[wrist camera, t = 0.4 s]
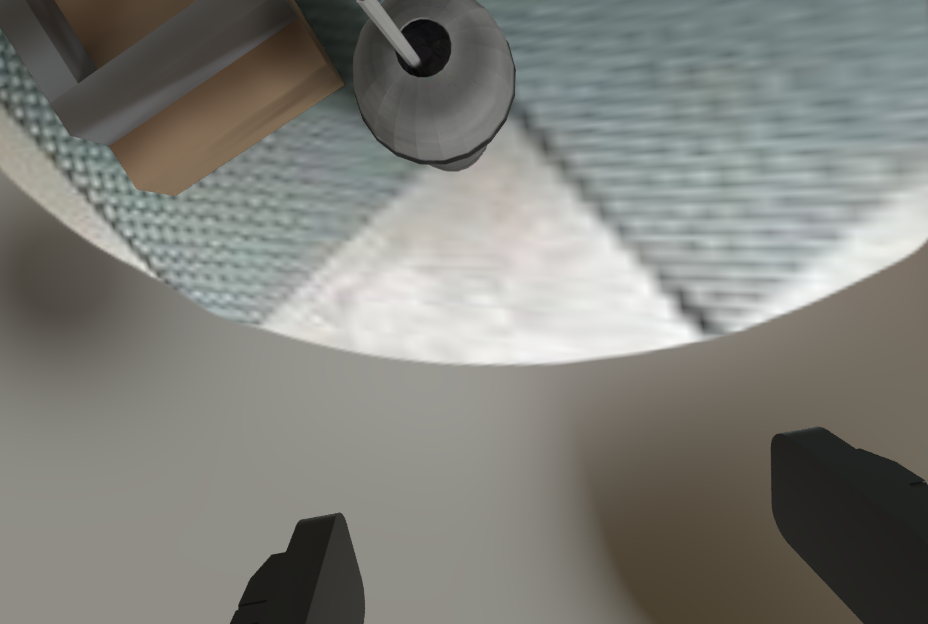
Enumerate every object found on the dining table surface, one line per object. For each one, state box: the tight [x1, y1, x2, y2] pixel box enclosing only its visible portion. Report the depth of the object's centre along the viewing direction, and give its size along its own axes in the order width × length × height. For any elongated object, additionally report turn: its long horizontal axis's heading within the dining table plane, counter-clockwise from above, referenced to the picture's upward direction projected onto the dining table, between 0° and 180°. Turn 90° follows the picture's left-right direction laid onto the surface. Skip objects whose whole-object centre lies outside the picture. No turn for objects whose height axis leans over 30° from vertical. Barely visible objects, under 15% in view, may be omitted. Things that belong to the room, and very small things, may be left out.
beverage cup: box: [353, 0, 516, 171], centre depth 25 cm, size 7×7×20 cm
